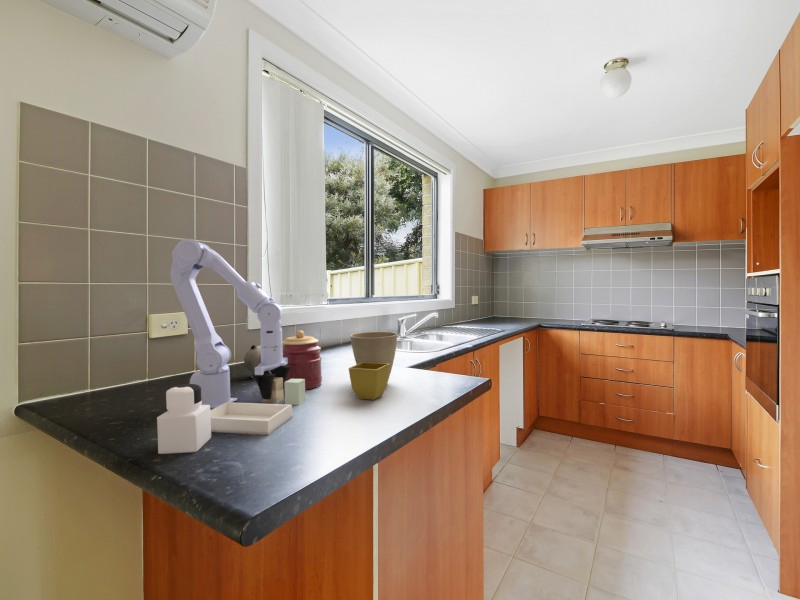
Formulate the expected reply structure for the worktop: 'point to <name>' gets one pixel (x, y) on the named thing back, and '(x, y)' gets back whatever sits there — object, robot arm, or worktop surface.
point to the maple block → (276, 391)
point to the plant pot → (374, 347)
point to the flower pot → (369, 379)
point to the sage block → (294, 391)
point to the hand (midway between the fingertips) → (273, 395)
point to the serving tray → (249, 417)
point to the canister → (303, 359)
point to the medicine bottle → (183, 421)
